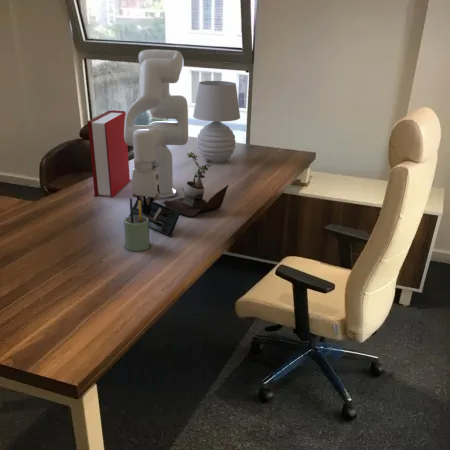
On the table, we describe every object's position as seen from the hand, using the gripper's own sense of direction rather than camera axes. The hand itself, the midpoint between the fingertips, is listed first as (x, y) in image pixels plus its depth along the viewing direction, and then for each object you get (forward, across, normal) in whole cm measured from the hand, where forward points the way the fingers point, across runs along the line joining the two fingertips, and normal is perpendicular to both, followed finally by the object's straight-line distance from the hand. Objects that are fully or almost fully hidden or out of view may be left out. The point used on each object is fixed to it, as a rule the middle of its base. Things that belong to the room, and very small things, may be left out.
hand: (146, 213), depth 196 cm
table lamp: (+3, +10, -105) cm, 106 cm away
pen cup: (+6, -5, +18) cm, 19 cm away
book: (+4, +36, -38) cm, 53 cm away
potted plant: (+5, -8, -26) cm, 28 cm away
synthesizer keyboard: (+5, -2, 0) cm, 6 cm away
